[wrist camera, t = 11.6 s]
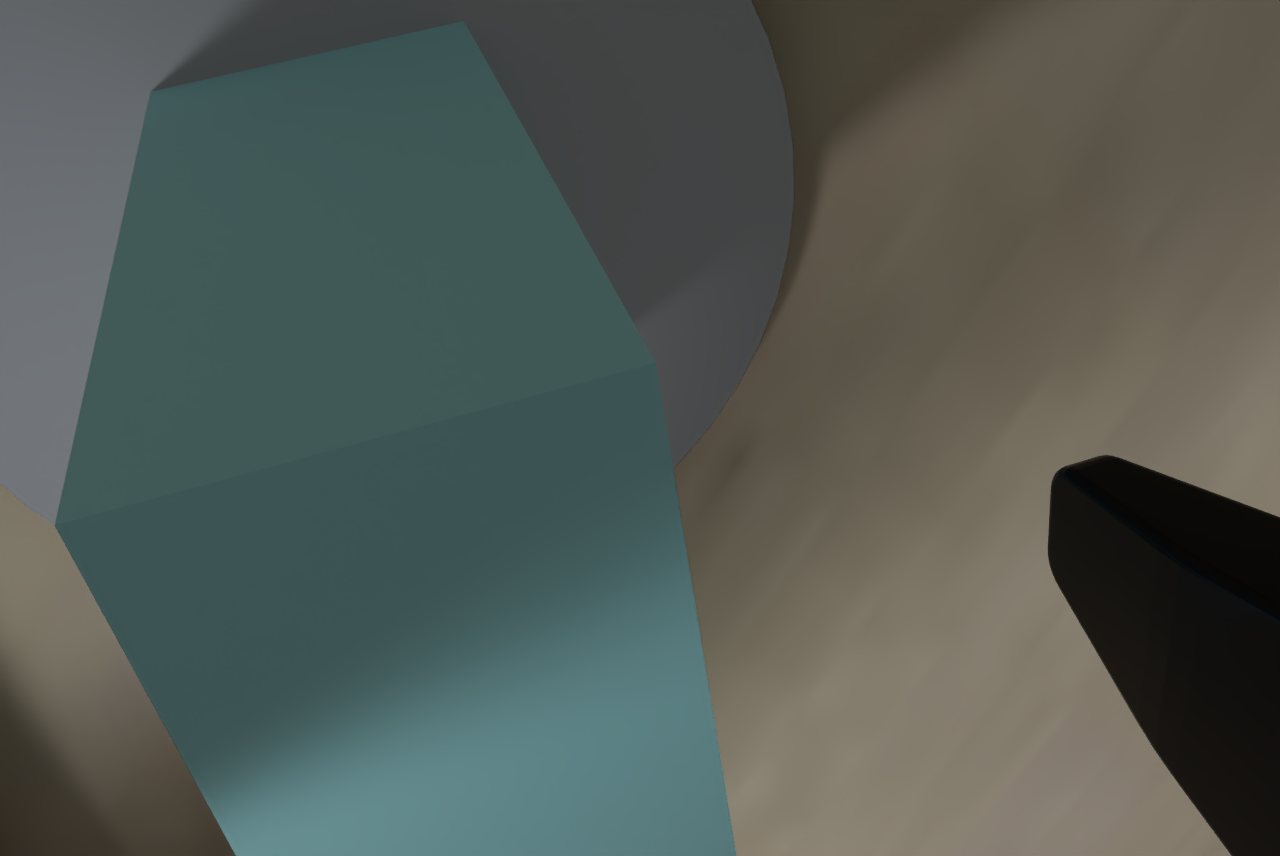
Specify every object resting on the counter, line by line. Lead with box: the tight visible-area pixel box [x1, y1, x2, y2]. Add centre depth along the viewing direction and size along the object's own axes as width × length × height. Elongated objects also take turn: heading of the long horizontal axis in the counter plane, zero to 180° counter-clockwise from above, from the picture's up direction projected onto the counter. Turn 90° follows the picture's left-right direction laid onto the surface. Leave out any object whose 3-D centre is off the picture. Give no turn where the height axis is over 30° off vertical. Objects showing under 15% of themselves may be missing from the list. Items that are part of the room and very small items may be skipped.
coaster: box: [0, 0, 794, 525], centre depth 15 cm, size 11×11×1 cm
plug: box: [55, 21, 736, 856], centre depth 12 cm, size 5×4×8 cm
